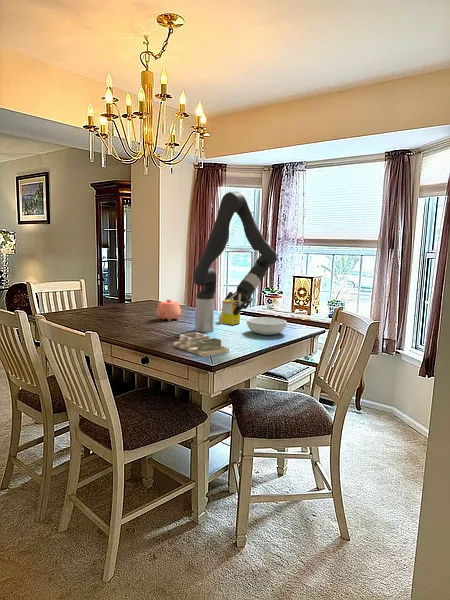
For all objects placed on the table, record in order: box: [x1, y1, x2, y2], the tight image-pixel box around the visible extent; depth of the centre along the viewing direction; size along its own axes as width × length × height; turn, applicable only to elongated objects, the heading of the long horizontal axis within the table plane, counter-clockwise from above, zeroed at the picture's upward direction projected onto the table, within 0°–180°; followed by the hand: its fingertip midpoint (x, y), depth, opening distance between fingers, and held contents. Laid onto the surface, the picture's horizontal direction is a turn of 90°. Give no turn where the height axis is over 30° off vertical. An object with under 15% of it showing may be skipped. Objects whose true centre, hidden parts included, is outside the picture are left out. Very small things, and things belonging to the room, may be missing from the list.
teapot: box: [156, 298, 182, 322], centre depth 246 cm, size 20×12×12 cm, turn 148°
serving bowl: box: [246, 316, 288, 336], centre depth 218 cm, size 21×21×7 cm
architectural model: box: [216, 311, 222, 325], centre depth 242 cm, size 3×7×7 cm, turn 153°
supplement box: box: [221, 299, 241, 327], centre depth 185 cm, size 6×6×11 cm
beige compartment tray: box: [173, 331, 230, 358], centre depth 184 cm, size 22×14×5 cm, turn 41°
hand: (228, 312), depth 184 cm, fingers closed on supplement box, 7 cm apart
